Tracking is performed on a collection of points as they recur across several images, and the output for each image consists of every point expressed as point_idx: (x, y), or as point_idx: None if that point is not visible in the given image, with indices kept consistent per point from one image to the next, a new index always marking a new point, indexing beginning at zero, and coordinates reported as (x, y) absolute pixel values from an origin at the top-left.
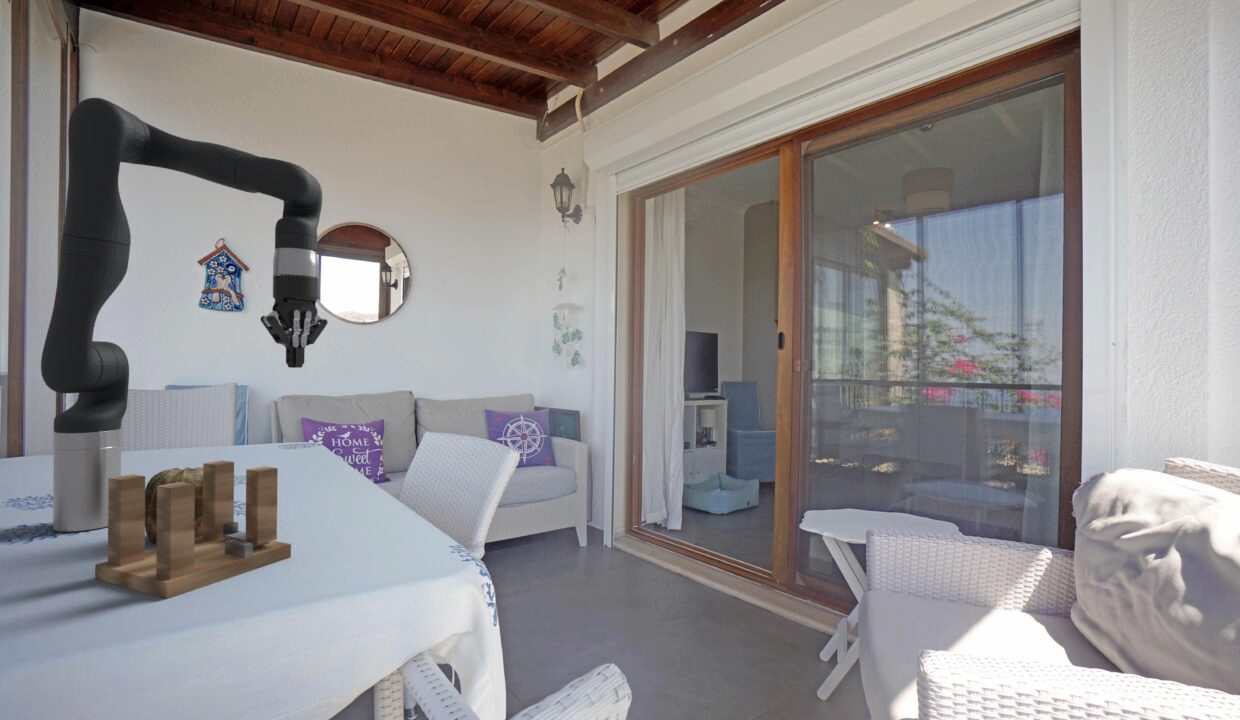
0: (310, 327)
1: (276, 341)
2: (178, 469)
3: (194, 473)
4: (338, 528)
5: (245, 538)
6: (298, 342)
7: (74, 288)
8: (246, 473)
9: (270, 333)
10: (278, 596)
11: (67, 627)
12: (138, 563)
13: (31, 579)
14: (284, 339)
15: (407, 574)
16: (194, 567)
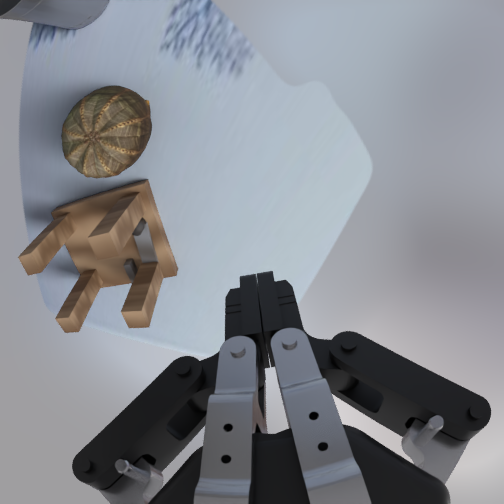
0: (414, 408)
1: (171, 372)
2: (85, 129)
3: (97, 165)
4: (257, 221)
5: (143, 254)
6: (265, 391)
7: None
8: (122, 308)
9: (134, 406)
10: None
11: (54, 282)
12: (73, 234)
13: (28, 174)
14: (190, 408)
15: (220, 347)
16: (104, 273)
